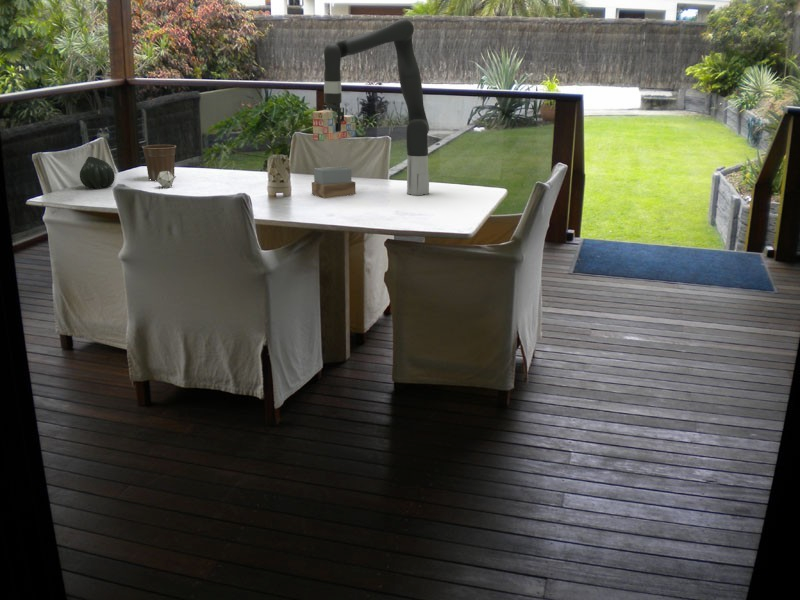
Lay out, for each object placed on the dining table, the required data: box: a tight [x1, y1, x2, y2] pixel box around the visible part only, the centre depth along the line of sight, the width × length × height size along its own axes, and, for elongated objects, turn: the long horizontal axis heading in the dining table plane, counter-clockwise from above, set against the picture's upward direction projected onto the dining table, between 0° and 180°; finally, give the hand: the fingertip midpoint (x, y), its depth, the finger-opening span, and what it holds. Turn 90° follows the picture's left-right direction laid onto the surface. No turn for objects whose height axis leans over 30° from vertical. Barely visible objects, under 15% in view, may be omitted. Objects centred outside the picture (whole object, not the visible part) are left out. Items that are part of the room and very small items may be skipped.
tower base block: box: [311, 180, 357, 199], centre depth 378 cm, size 11×16×6 cm
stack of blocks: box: [312, 110, 357, 142], centre depth 371 cm, size 21×6×12 cm, turn 143°
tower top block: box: [313, 165, 352, 185], centre depth 377 cm, size 9×14×6 cm, turn 119°
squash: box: [79, 156, 115, 190], centre depth 393 cm, size 14×15×15 cm
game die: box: [155, 170, 177, 189], centre depth 394 cm, size 9×8×10 cm
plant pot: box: [141, 144, 177, 181], centre depth 415 cm, size 16×16×16 cm
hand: (333, 130), depth 372 cm, fingers closed on stack of blocks, 7 cm apart
